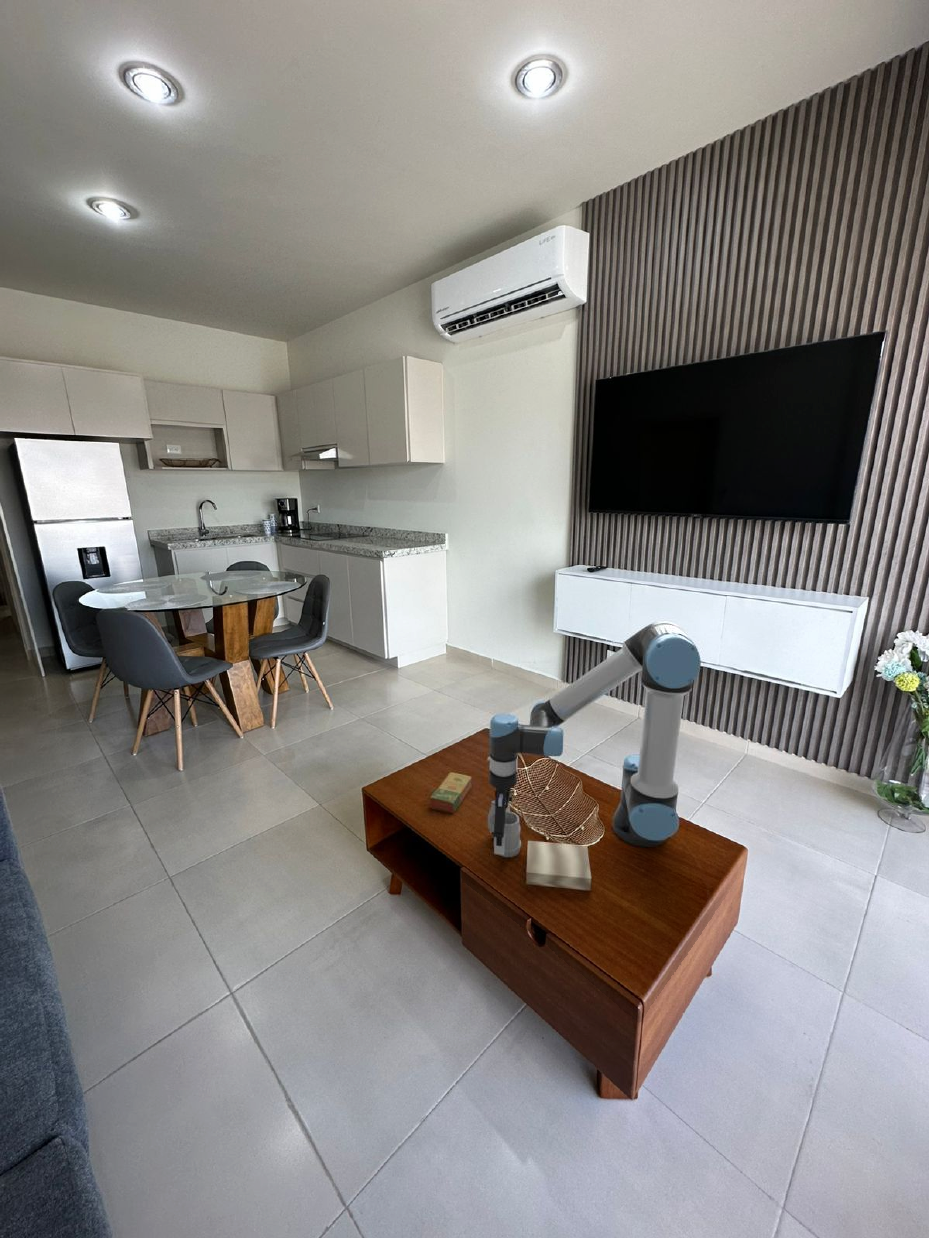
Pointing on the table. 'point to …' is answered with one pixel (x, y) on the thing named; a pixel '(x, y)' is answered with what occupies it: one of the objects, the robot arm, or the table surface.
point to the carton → (451, 792)
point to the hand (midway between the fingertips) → (502, 836)
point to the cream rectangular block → (558, 865)
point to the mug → (507, 831)
